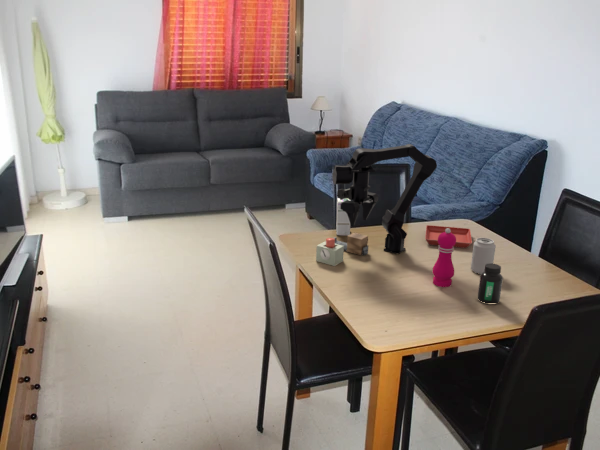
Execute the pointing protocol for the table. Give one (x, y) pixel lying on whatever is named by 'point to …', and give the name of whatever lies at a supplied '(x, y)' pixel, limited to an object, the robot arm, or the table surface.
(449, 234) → the pepper mill
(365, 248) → the rail
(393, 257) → the table surface
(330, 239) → the gauge button
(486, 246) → the can
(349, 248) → the block
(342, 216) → the syrup box
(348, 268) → the table surface
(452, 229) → the plant saucer
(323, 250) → the cabinet
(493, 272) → the supplement bottle
